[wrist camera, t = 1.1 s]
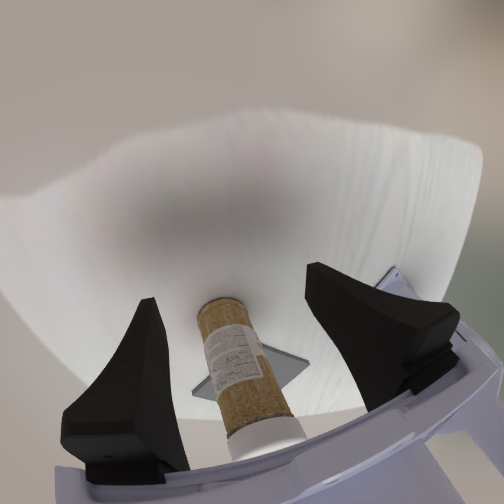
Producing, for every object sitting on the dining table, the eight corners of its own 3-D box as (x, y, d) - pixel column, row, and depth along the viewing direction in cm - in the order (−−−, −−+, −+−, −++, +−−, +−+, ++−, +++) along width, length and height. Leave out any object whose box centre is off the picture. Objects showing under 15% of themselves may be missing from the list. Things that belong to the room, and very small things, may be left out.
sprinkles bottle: (248, 328, 25) (306, 456, 14) (201, 339, 24) (240, 476, 13) (244, 290, 23) (314, 433, 12) (190, 302, 22) (229, 460, 11)
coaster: (307, 360, 31) (310, 364, 30) (254, 405, 33) (255, 408, 32) (247, 338, 26) (249, 342, 25) (191, 391, 28) (192, 395, 27)
